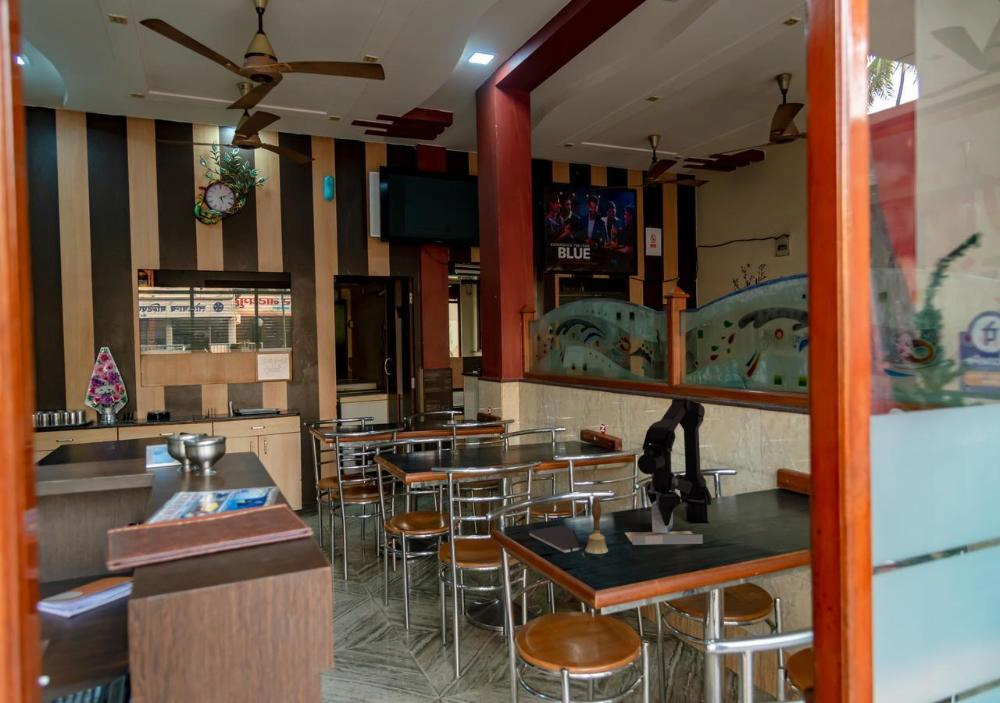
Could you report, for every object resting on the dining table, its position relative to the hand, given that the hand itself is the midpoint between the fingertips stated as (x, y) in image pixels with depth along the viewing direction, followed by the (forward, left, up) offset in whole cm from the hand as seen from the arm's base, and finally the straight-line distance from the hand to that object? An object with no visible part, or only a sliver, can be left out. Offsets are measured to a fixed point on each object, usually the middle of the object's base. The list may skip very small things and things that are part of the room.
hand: (662, 521), depth 184 cm
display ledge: (0, 0, -7) cm, 7 cm away
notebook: (+29, -5, -7) cm, 30 cm away
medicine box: (0, 0, -3) cm, 3 cm away
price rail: (0, +5, -5) cm, 7 cm away
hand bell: (+21, +10, -7) cm, 24 cm away
